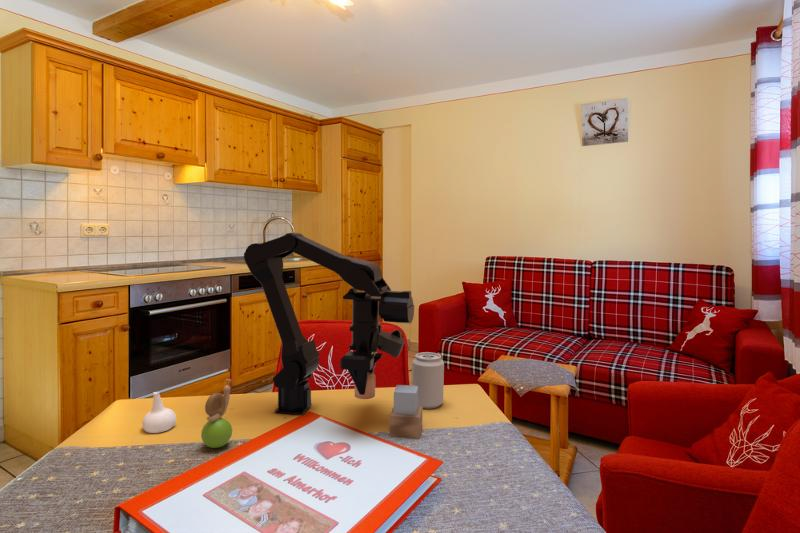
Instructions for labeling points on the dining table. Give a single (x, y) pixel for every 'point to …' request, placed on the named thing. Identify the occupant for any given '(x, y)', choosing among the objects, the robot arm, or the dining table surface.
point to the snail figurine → (217, 420)
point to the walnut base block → (406, 424)
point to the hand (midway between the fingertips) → (364, 390)
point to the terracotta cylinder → (367, 388)
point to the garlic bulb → (158, 417)
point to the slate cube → (405, 400)
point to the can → (428, 379)
